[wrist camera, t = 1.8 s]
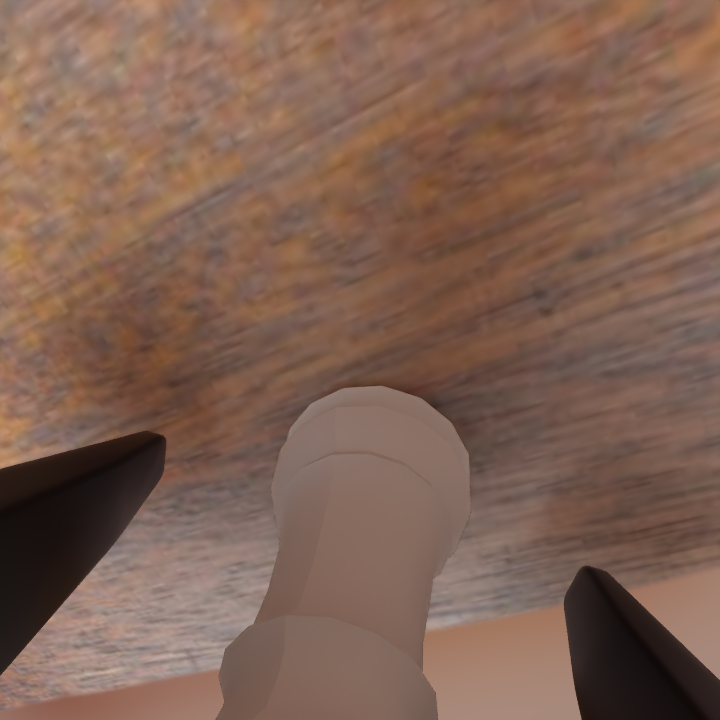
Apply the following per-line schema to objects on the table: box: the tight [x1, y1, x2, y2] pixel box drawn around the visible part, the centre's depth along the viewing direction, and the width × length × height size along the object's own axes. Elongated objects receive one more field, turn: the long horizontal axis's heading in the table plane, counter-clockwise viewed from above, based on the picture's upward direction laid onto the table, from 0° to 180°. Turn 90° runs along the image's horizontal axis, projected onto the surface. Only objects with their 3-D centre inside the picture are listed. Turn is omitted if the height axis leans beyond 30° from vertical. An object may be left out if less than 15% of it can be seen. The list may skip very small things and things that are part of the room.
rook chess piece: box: [216, 386, 471, 720], centre depth 7 cm, size 4×4×8 cm
